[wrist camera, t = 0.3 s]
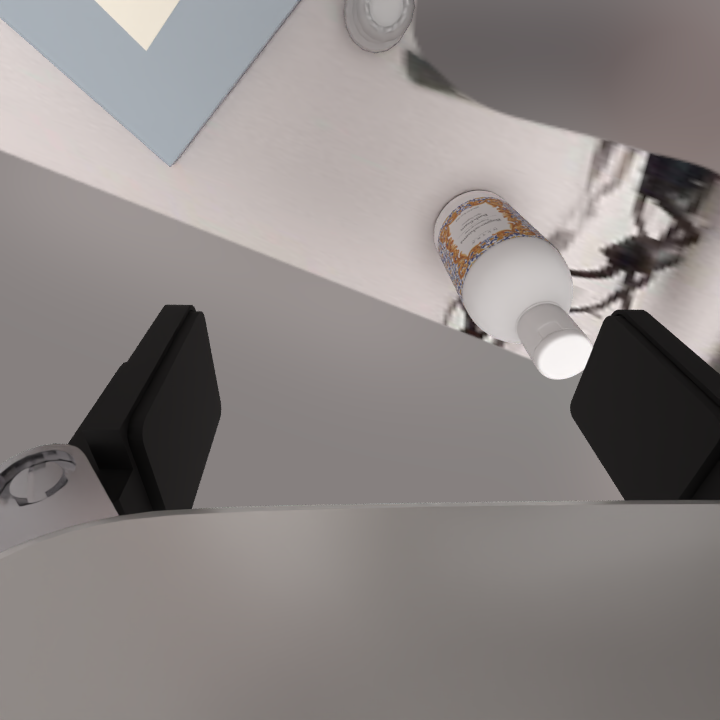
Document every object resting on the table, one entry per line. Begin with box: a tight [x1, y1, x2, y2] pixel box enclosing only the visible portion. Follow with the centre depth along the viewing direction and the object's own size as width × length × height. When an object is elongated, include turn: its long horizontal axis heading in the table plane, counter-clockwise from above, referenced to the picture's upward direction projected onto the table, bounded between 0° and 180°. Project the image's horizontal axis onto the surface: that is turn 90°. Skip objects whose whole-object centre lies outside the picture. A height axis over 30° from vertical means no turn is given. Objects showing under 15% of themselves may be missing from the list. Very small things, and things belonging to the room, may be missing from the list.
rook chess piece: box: [344, 0, 415, 53], centre depth 27 cm, size 4×4×8 cm
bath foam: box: [434, 191, 593, 379], centre depth 31 cm, size 7×7×20 cm
